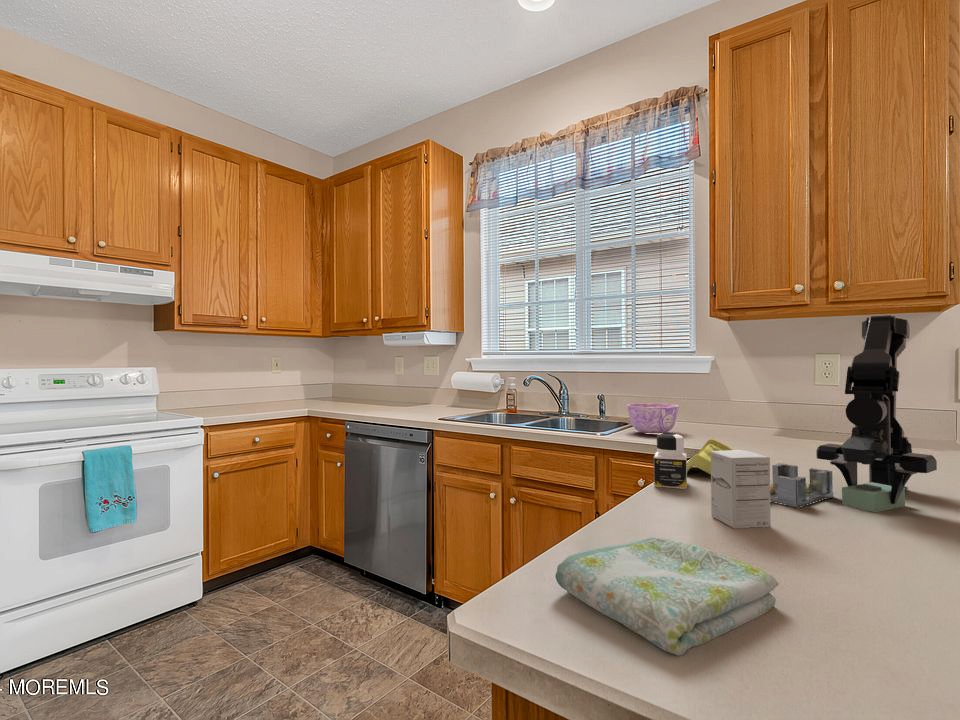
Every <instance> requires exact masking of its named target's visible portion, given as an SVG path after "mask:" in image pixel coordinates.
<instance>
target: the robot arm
mask: <svg viewBox="0 0 960 720" xmlns="http://www.w3.org/2000/svg"><path fill="white" fill-rule="evenodd" d="M910 335H911V333H910V323H909V321H908V320H907V319H904V318H898V317H896V316H895V315H892V314H887V315H885V314H884V315H872V316H871V315H870V316H868V317H866V320H864V321H862V322H861V338H862V339H863V340H864V343H863V348H862V352H861V353H858V354H857V355H854V357H853V358H852V360H851V361H852V362H851V365H849V366H847V369H846V370H847V371H846V378H845V379H846V380H845V388H844V394H845V395H853V399H851V401H849V402H848V403H847V405H846V408H845V415H846V418H847V419H848V421H849V422H850V423H852V424H853V425H854V427H851V428H852V430H851V435H850V437H848V438H847V439H846V440H845V441H844V442H843V443H842V444H837V443H827V444H826V443H825V444H821V445H820V444H819V445H818V447H817V448H816V452H815V453H816V459H817V460H824V461H829V463H830V465H832V466H835V467H836V468H837V469H838V470H839V471H840V473H841V474H842V476H843V478H844V480H845V483H846V484H847V487H848V486H853V485H858V464H862V465H868V479H869V480H868V481H869V482H868V483H871V482H873V483H879V484H884V485H889V486H892V488H891V503H892V504H896V502H897V500H898V498H899V496H900V494H901V492H902V490H903V488H905V491H907V490H908V489H909V487H908V486H906V484H907V482H908V481H909V480H910V478H911V477H912V475H915V474H928V473H931V472H934V471H937V470H938V469H937V465H938V463H937V459H936V457H934V455H932V454H924V453H915V452H913V448H912V443H911V442H909V439H908V437H907V436H905V431H904V429H903V427H902V426H901V424H900V423H899V421H898V420H897V419H896V418H897V417H896V416H897V415H896V414H897V413H896V412H897V392H899V385H900V377H901V376H900V371H899V370H898V369H897V367H898V365H897V363H898V357H900V355H902V353H903V351H904V350H905V349H906V347H907V339H910Z"/></svg>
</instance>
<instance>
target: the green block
mask: <svg viewBox="0 0 960 720" xmlns="http://www.w3.org/2000/svg"><path fill="white" fill-rule="evenodd" d="M891 488H892V486H889V485H884V484H879V483H873V482H871V483H869V482H867V483H860V484H857V485H853V486H848V485H847V486H843V487H841V503H842V504H843V506H846V505H847V507H850V506H851V508H854V507H855V508H856V509H860V510H864V511H867V512H871V511H872V512H871V513H877V512H882V511H887V510H892V509H897V508H902V507H906V490H905V488H903V490H902V492H901V494H900V496H899V498H898V500H897V502H896V504H892V503H891ZM842 504H841V505H842Z"/></svg>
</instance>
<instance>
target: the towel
mask: <svg viewBox="0 0 960 720" xmlns="http://www.w3.org/2000/svg"><path fill="white" fill-rule="evenodd" d="M556 567H557V568H556V569H557V570H556V573H555V575H554V576H555V580H556V583H557V584H558V585H559V586H560V587H561V588H562V589H563V590H564V591H566V592H567V593H569V594H570V595H572V596H573V597H575V598H577V599H578V600H579V601H582V602H583V603H584V604H586V605H587V606H590V607H591V608H593V609H594V610H596V611H597V612H600V613H601V614H603V615H604V616H606V617H608V618H610V619H611V620H614V621H616V622H617V623H620V624H621V625H623V626H625V627H626V628H628V629H629V630H631V631H633V632H634V633H636V634H638V635H640V636H641V637H642V638H644V639H645V640H646V641H649V642H650V643H652V644H653V645H655V646H656V647H658V648H660V649H661V650H662V651H665V652H667V653H669V654H672V655H675V656H682V655H684V654H685V653H686V651H687V650H689V649H691V648H695V647H697V646H701V645H703V644H705V643H707V642H709V641H712V640H714V639H716V638H718V637H720V636H721V635H724V634H726V633H728V632H730V631H733V630H734V629H736V628H738V627H740V626H742V625H744V624H747V623H749V622H751V621H752V620H755V619H757V618H759V617H761V616H763V615H764V614H766V613H768V612H769V611H771V610H772V609H773V608H774V606H775V604H776V602H777V601H776V597H775V596H774V595H772V593H771V592H773V591H774V590H775V589H776V587H778V586H779V582H778V581H777V580H776V578H775V576H774V575H772V574H770V573H769V572H768V571H766V570H765V569H763V568H761V567H759V566H757V565H756V566H755V565H754V564H751V563H748V562H746V561H743V560H740V559H738V558H734V557H731V556H728V555H726V554H722V553H718V552H717V551H714V550H711V549H709V548H705V547H703V546H698V545H696V544H692V543H688V542H682V541H677V540H673V539H668V538H658V537H647V538H643V539H642V540H638V541H635V542H629V543H624V544H616V545H610V546H605V547H604V546H603V547H598V548H593V549H589V550H585V551H581V552H577V553H574V554H571V555H568V556H567V557H565V558H564V559H563V561H561V562H560V563H558V565H557V566H556Z"/></svg>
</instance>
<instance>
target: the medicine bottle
mask: <svg viewBox="0 0 960 720" xmlns="http://www.w3.org/2000/svg"><path fill="white" fill-rule="evenodd" d="M684 439H685V438H684V436H682V435H681V434H675V433H664V434H661V435H656V452H655V453H654V455H653V482H654V483H653V485H654V487H656V488H668V489H669V488H670V489H681V490H686V489H687V487H688V478H687V477H688V472H687V463H688V461H687V458H688V457H687V453H685V448H684V447H685V446H684V445H685V443H684V442H685V440H684Z"/></svg>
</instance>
